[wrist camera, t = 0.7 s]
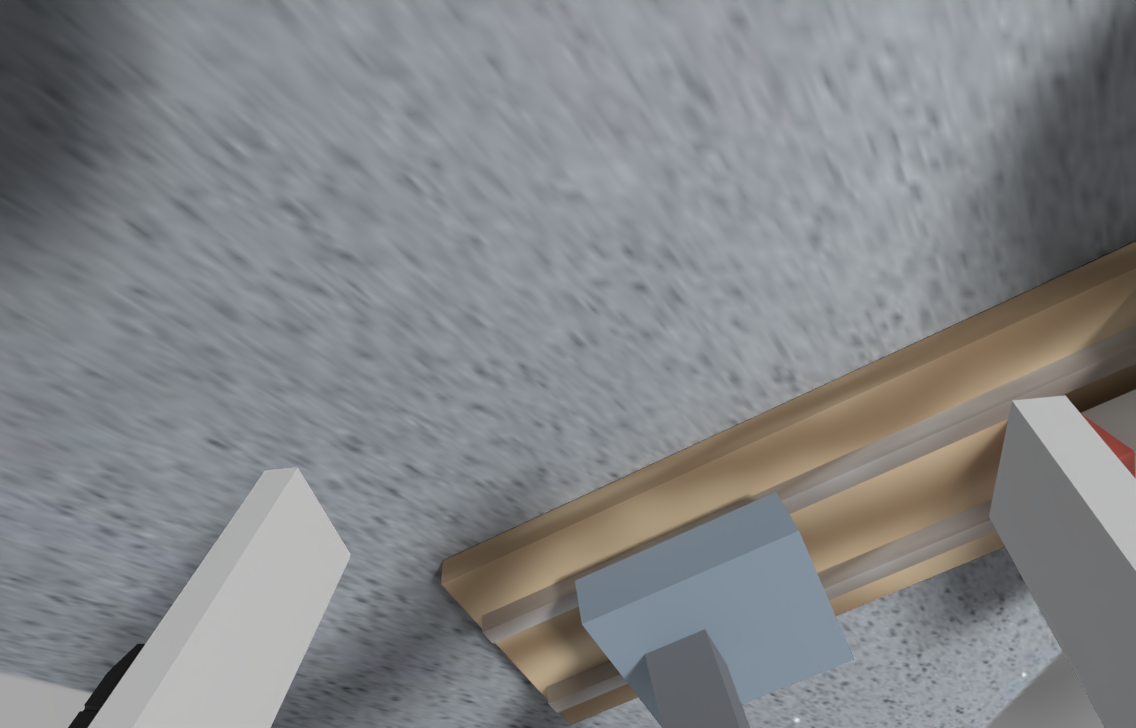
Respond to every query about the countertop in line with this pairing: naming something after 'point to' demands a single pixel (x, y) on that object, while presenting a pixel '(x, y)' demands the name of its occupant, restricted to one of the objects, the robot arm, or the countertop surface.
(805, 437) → the rail track
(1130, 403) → the button
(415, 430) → the countertop surface
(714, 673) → the carriage
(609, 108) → the countertop surface
